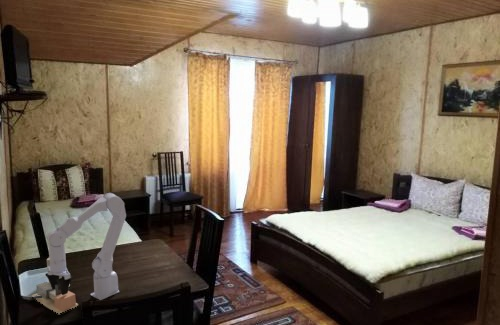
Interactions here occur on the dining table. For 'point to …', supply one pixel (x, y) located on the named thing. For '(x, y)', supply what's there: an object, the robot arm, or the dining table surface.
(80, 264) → the dining table surface
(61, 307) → the socket block
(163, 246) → the dining table surface
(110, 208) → the robot arm
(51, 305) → the birch board
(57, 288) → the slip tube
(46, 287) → the grey sleeve
